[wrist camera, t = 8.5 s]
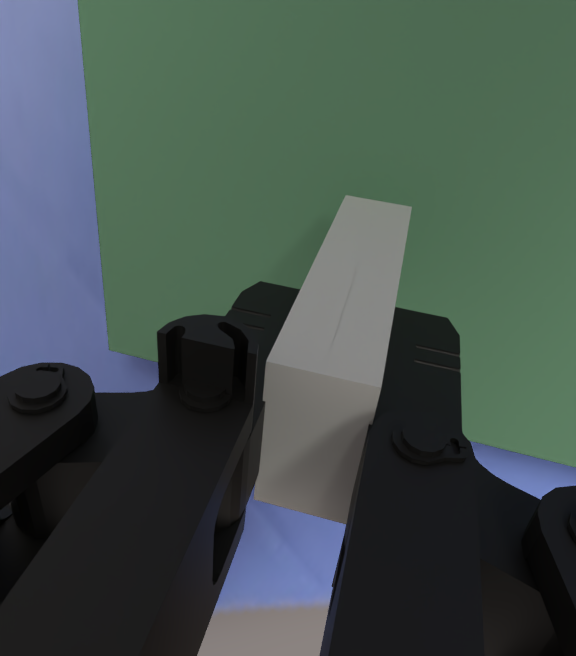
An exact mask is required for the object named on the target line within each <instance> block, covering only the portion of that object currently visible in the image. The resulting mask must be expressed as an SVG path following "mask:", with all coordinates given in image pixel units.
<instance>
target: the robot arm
mask: <svg viewBox="0 0 576 656" xmlns="http://www.w3.org/2000/svg"><path fill="white" fill-rule="evenodd" d="M411 209H412V207H410V206H405V205H399V204H393V203H388V202H382V201H376V200H371V199H365V198H359V197H354V196H348V195H346V196H345V198H344V200H343V202H342V204H341V206H340V208H339V210H338V212H337V214H336V217H335V219H334V221H333V223H332V225H331V227H330V229H329V231H328V233H327V235H326V237H325V239H324V242H323V244H322V246H321V248H320V250H319V252H318V254H317V256H316V258H315V260H314V262H313V264H312V267H311V269H310V271H309V273H308V275H307V277H306V279H305V281H304V283H303V285H302V287H301V289H296V288H291V287H286V286H282V285H277V284H272V283H267V282H262V281H260V282H258V283H256V284H254V285H252V286H251V287H249V288H247V289H245V290H243V291H242V292H241V293H240V295H239V296H238V298H237V299H236V301H235V302H234V304H233V305H232V307H231V310H229V311H228V313H227V314H226V316H218V315H208V314H201V315H192V316H185V317H182V318H179V319H177V320H174V321H171V322H169V323H167V324H166V325H165V326H163V327H162V328H161V329H160V330H158V331H157V349H158V369H159V383H158V385H157V386H156V387H155V389H154V390H151V391H147V392H135V393H95V391H94V386H93V383H92V381H91V378H90V376H89V375H88V374H86V373H85V372H84V371H82V370H81V369H80V368H78V367H75V366H72V365H68V364H64V363H38V364H33V365H29V366H24V367H20V368H18V369H16V370H14V371H12V372H9V373H7V374H5V375H3V376H1V377H0V656H197V654H198V651H199V648H200V646H201V643H202V641H203V638H204V635H205V632H206V630H207V627H208V624H209V622H210V619H211V616H212V614H213V611H214V608H215V605H216V603H217V600H218V597H219V595H220V592H221V589H222V587H223V584H224V581H225V579H226V576H227V573H228V570H229V568H230V565H231V562H232V560H233V557H234V554H235V552H236V549H237V546H238V543H239V541H240V538H241V535H242V533H243V530H244V522H245V513H246V505H247V502H248V500H249V497H250V494H251V492H252V489H253V487H254V484H255V491H254V500H258V501H262V502H265V503H269V504H273V505H276V506H280V507H284V508H287V509H291V510H295V511H299V512H302V513H306V514H310V515H313V516H317V517H321V518H325V519H328V520H332V521H336V522H339V523H343V524H346V529H345V534H344V538H343V542H342V546H341V550H340V554H339V559H338V563H337V567H336V571H335V575H334V579H333V583H332V587H333V590H332V595H331V600H330V605H329V610H328V615H327V620H326V625H325V631H324V636H323V641H322V646H321V651H320V656H576V486H568V487H558V488H555V489H553V490H552V491H550V492H549V493H547V494H546V495H544V496H543V497H542V499H541V500H540V499H538V498H536V497H534V496H532V495H530V494H528V493H526V492H524V491H522V490H520V489H518V488H516V487H514V486H512V485H510V484H508V483H506V482H505V481H503V480H501V479H500V478H498V477H496V476H495V475H493V474H492V473H490V472H489V471H488V470H487V469H486V468H484V467H483V466H482V465H481V464H480V463H479V462H478V461H477V460H476V458H475V456H474V452H473V449H472V446H471V443H470V442H469V440H468V439H467V438H466V437H465V436H464V434H463V432H462V402H461V373H460V369H461V361H460V335H459V334H458V332H457V331H456V329H455V328H454V326H453V325H452V323H451V322H450V320H449V319H448V318H447V317H442V316H437V315H432V314H427V313H422V312H417V311H413V310H408V309H403V308H398V307H395V304H396V298H397V292H398V286H399V280H400V274H401V268H402V263H403V257H404V251H405V245H406V239H407V233H408V227H409V221H410V215H411Z"/></svg>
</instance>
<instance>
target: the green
mask: <svg viewBox="0 0 576 656" xmlns="http://www.w3.org/2000/svg"><path fill="white" fill-rule="evenodd" d="M78 10H79V21H80V32H81V43H82V54H83V65H84V77H85V88H86V99H87V110H88V121H89V132H90V143H91V154H92V166H93V177H94V188H95V199H96V210H97V221H98V232H99V243H100V254H101V266H102V277H103V288H104V299H105V310H106V321H107V332H108V343H109V350H111V351H115V352H119V353H123V354H127V355H131V356H135V357H139V358H143V359H147V360H151V361H155V362H158V349H157V331H158V330H160V329H161V328H162V327H163V326H165V325H166V324H167V323H169V322H171V321H174V320H177V319H179V318H182V317H185V316H192V315H201V314H208V315H218V316H226V314H227V313H228V311H229V310H231V307H232V305H233V304H234V302H235V301H236V299H237V298H238V296H239V295H240V293H241V292H242V291H243V290H245V289H247V288H249V287H251V286H252V285H254V284H256V283H258V282H260V281H262V282H267V283H272V284H277V285H282V286H286V287H291V288H296V289H301V287H302V285H303V283H304V281H305V279H306V277H307V275H308V273H309V271H310V269H311V267H312V264H313V262H314V260H315V258H316V256H317V254H318V252H319V250H320V248H321V246H322V244H323V242H324V239H325V237H326V235H327V233H328V231H329V229H330V227H331V225H332V223H333V221H334V219H335V217H336V214H337V212H338V210H339V208H340V206H341V204H342V202H343V200H344V198H345V196H346V195H348V196H354V197H359V198H365V199H371V200H376V201H382V202H388V203H393V204H399V205H405V206H410V207H412V209H411V215H410V221H409V227H408V233H407V239H406V245H405V251H404V257H403V263H402V268H401V274H400V280H399V286H398V292H397V298H396V304H395V307H398V308H403V309H408V310H413V311H417V312H422V313H427V314H432V315H437V316H442V317H447V318H448V319H449V320H450V322H451V323H452V325H453V326H454V328H455V329H456V331H457V332H458V334H459V335H460V361H461V369H460V373H461V402H462V432H463V434H464V436H465V437H466V438H467V439H468V440H469V441H473V442H477V443H481V444H485V445H489V446H493V447H497V448H501V449H505V450H509V451H513V452H517V453H521V454H524V455H528V456H532V457H536V458H540V459H544V460H548V461H552V462H556V463H560V464H564V465H568V466H572V467H576V0H78Z"/></svg>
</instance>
